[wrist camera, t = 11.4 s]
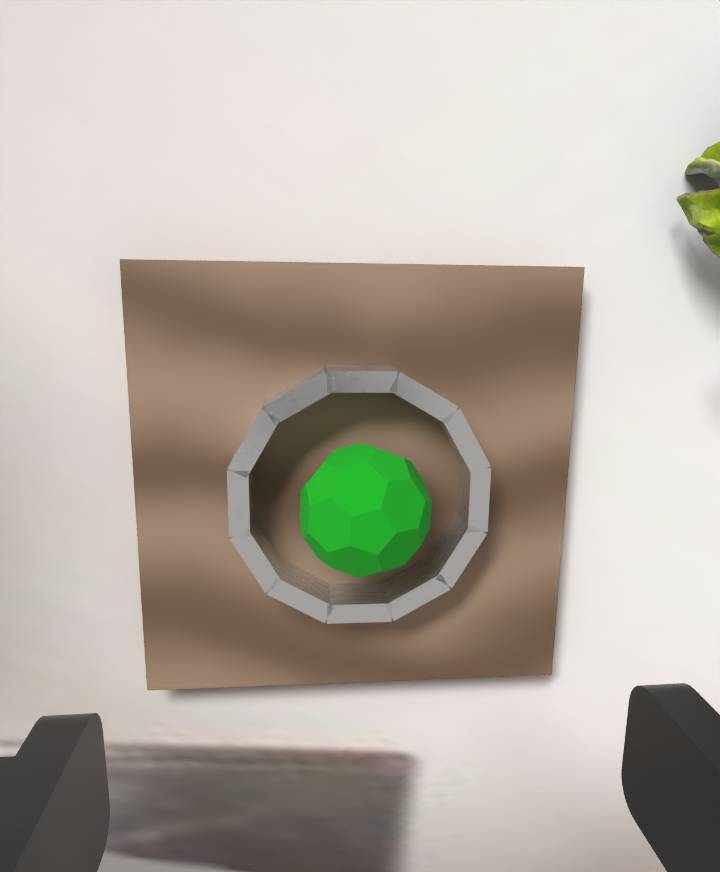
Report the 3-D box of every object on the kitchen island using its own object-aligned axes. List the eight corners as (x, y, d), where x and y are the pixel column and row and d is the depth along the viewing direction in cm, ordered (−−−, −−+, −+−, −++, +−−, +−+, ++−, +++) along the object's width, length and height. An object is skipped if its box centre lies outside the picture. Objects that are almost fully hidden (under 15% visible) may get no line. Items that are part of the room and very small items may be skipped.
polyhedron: (437, 457, 27) (465, 491, 22) (392, 562, 27) (410, 616, 23) (324, 415, 26) (329, 441, 21) (282, 524, 27) (277, 571, 22)
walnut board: (130, 261, 25) (119, 259, 24) (569, 268, 27) (584, 267, 25) (155, 670, 29) (147, 690, 28) (539, 656, 31) (551, 674, 29)
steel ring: (229, 365, 25) (223, 370, 23) (482, 366, 26) (496, 371, 24) (237, 603, 27) (231, 626, 25) (470, 596, 28) (482, 618, 26)
